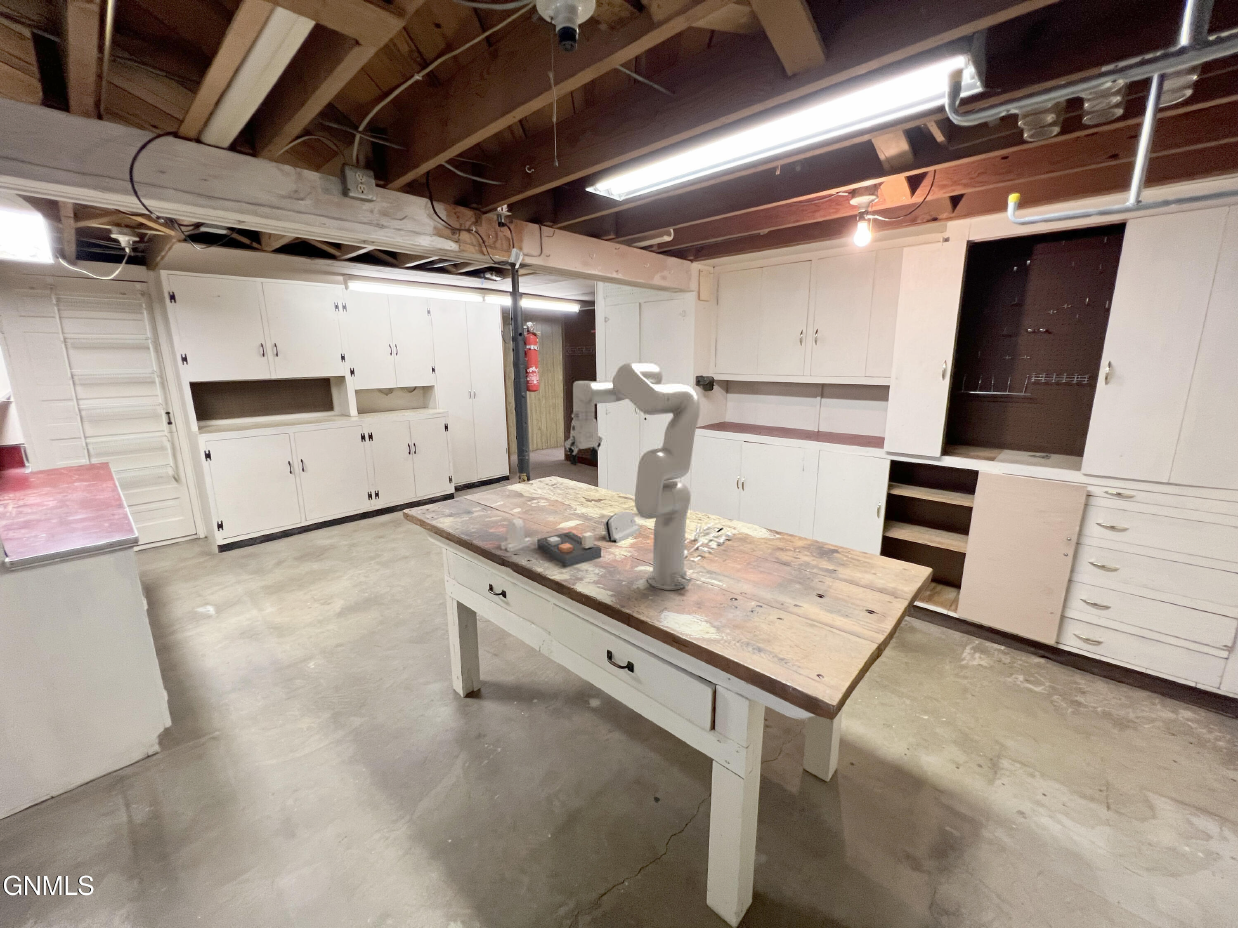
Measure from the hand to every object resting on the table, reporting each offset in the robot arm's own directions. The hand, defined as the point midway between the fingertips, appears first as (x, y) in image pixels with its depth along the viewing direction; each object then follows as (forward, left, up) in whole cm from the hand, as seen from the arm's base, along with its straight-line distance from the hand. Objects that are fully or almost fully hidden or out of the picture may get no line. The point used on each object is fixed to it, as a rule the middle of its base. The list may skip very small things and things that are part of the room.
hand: (584, 462), depth 173 cm
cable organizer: (+10, +23, -30) cm, 39 cm away
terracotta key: (-11, +15, -28) cm, 33 cm away
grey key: (-3, +15, -28) cm, 31 cm away
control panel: (-7, +11, -30) cm, 33 cm away
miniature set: (-31, -31, -31) cm, 53 cm away
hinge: (-4, -15, -30) cm, 34 cm away
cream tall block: (-14, +8, -26) cm, 30 cm away
